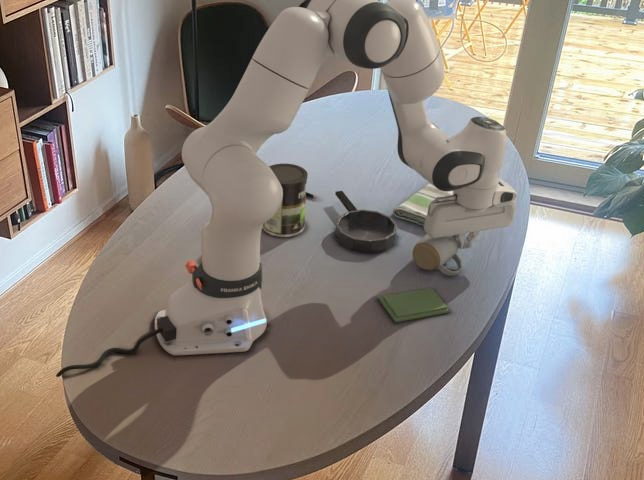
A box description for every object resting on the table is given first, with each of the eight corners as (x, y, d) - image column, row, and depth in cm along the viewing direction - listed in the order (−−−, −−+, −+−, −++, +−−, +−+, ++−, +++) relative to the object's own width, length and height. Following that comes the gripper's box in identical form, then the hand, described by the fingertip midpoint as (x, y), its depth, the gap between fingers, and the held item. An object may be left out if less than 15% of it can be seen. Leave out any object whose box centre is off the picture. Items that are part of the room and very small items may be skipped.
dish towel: (390, 216, 200) (391, 203, 198) (433, 181, 215) (435, 168, 213) (454, 239, 192) (456, 226, 190) (495, 201, 207) (497, 188, 205)
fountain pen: (320, 199, 207) (320, 194, 206) (317, 201, 206) (317, 196, 205) (272, 184, 213) (272, 178, 212) (269, 185, 212) (269, 180, 211)
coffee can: (307, 217, 199) (310, 165, 191) (301, 239, 191) (303, 186, 183) (266, 213, 201) (267, 160, 192) (257, 234, 193) (258, 181, 184)
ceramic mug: (407, 265, 183) (412, 236, 178) (426, 250, 188) (431, 221, 183) (450, 283, 178) (456, 254, 173) (468, 267, 183) (474, 238, 178)
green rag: (395, 322, 166) (395, 317, 166) (379, 300, 173) (379, 295, 172) (448, 312, 169) (449, 307, 169) (430, 291, 175) (431, 286, 175)
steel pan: (349, 257, 186) (350, 244, 184) (312, 205, 204) (312, 193, 202) (404, 248, 189) (406, 235, 187) (363, 198, 207) (364, 186, 205)
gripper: (437, 205, 169) (427, 261, 177) (524, 192, 174) (511, 247, 182) (423, 191, 174) (415, 246, 182) (508, 179, 179) (496, 233, 187)
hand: (463, 247), depth 182 cm, fingers closed
